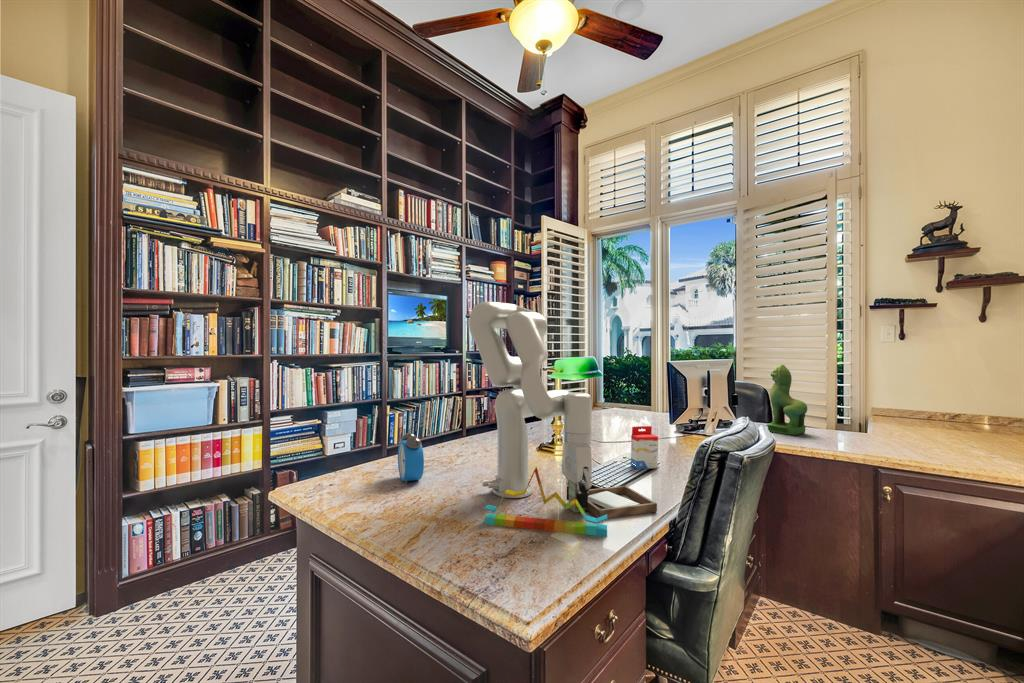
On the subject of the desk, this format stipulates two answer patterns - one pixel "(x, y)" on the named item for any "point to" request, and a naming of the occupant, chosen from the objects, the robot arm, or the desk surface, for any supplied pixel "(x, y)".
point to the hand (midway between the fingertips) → (576, 502)
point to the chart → (547, 523)
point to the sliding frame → (644, 507)
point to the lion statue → (785, 405)
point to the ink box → (644, 448)
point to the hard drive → (610, 500)
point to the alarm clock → (410, 458)
